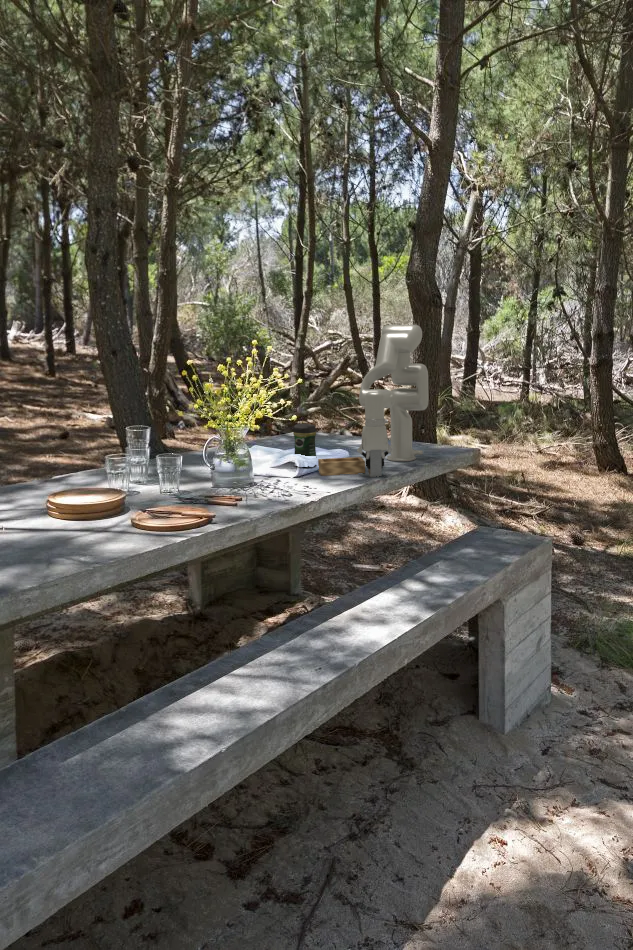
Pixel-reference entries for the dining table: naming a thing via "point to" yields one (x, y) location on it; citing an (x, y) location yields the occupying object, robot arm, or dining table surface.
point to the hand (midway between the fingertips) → (374, 467)
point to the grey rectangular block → (375, 463)
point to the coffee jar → (305, 439)
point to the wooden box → (341, 466)
